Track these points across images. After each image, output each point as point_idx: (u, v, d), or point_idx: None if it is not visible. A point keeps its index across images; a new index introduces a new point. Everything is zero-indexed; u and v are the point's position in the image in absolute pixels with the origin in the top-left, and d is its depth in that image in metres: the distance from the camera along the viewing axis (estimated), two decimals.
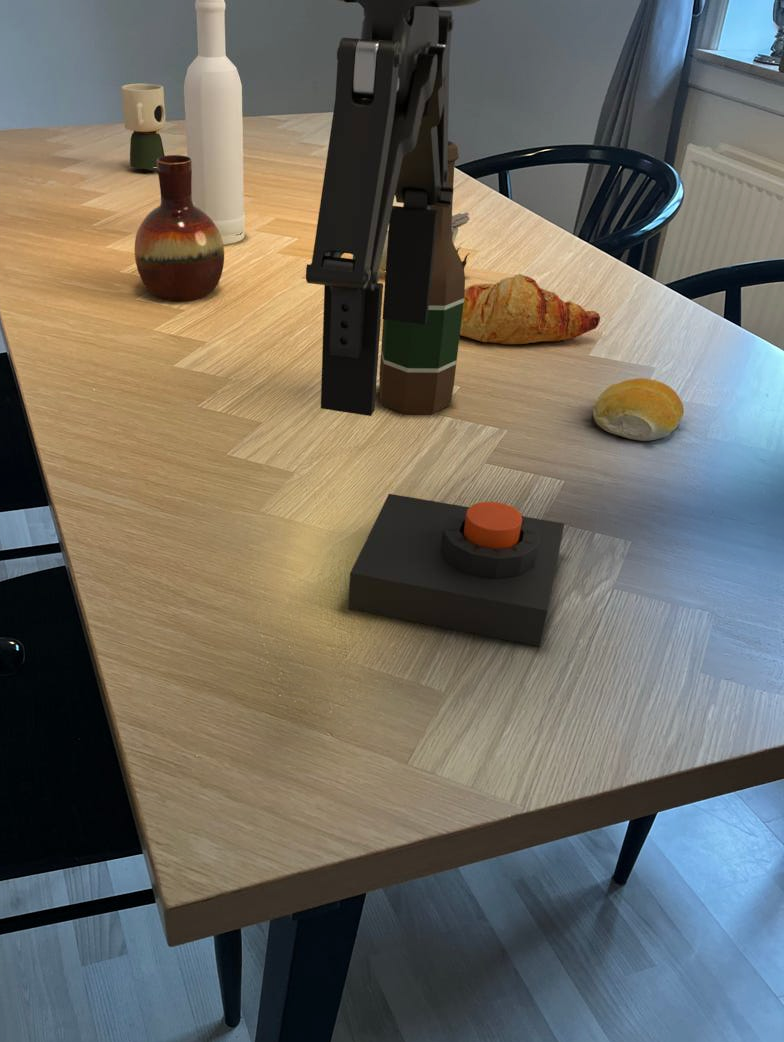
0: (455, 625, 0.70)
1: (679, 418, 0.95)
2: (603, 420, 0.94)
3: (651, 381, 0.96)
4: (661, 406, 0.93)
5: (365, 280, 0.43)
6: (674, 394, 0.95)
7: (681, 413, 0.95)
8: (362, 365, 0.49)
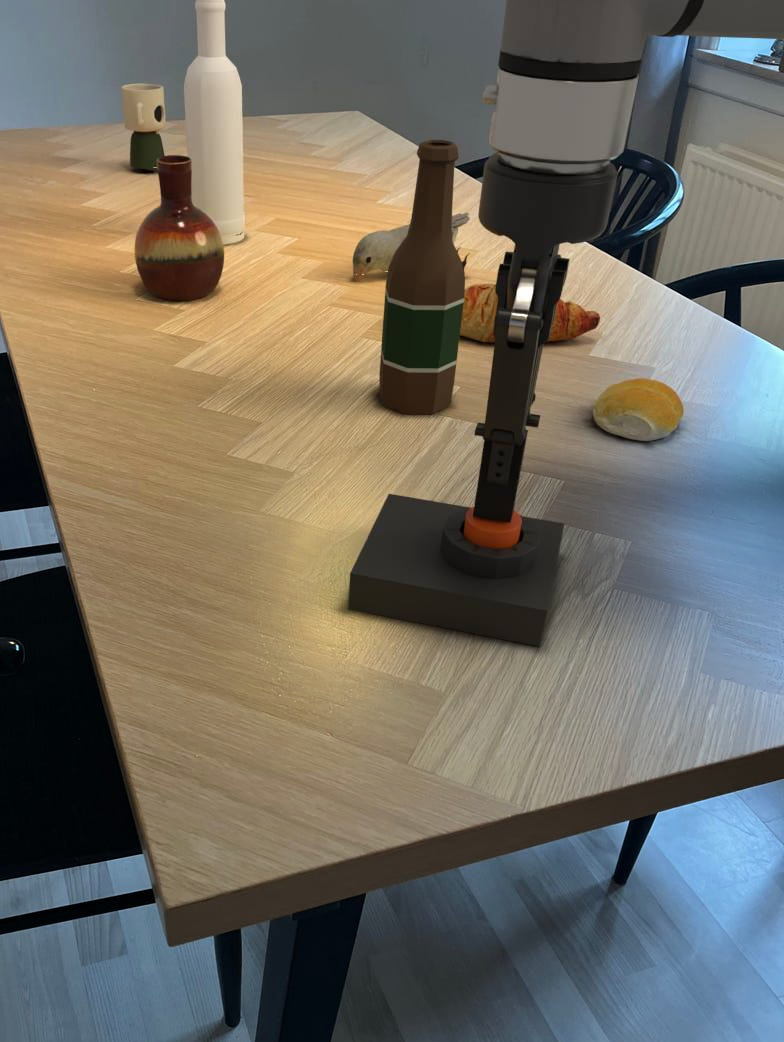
0: (455, 625, 0.70)
1: (679, 418, 0.95)
2: (603, 420, 0.94)
3: (651, 381, 0.96)
4: (661, 406, 0.93)
5: (522, 440, 0.63)
6: (674, 394, 0.95)
7: (681, 413, 0.95)
8: (507, 488, 0.68)
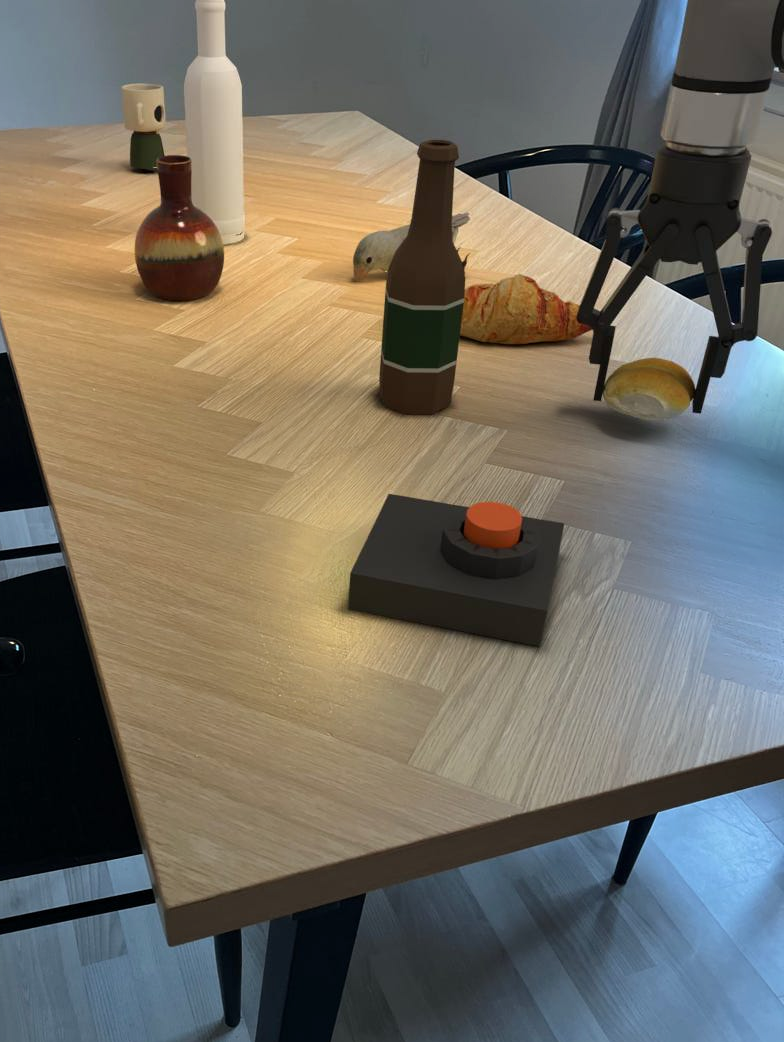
0: (455, 625, 0.70)
1: (691, 397, 0.94)
2: (614, 400, 0.93)
3: (662, 360, 0.94)
4: (673, 384, 0.91)
5: (580, 319, 0.91)
6: (685, 373, 0.93)
7: (693, 392, 0.94)
8: None
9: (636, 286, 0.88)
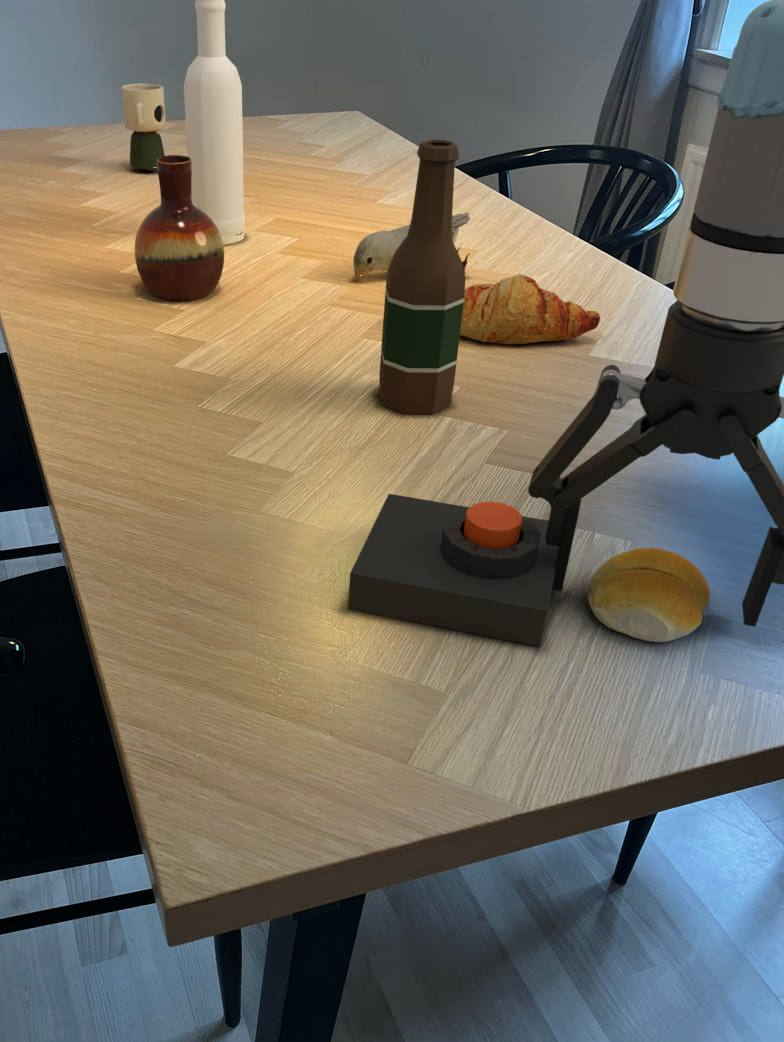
0: (455, 625, 0.70)
1: (704, 606, 0.71)
2: (602, 612, 0.70)
3: (666, 555, 0.71)
4: (681, 598, 0.68)
5: (533, 492, 0.68)
6: (697, 575, 0.71)
7: (707, 599, 0.71)
8: (558, 555, 0.71)
9: (619, 469, 0.65)
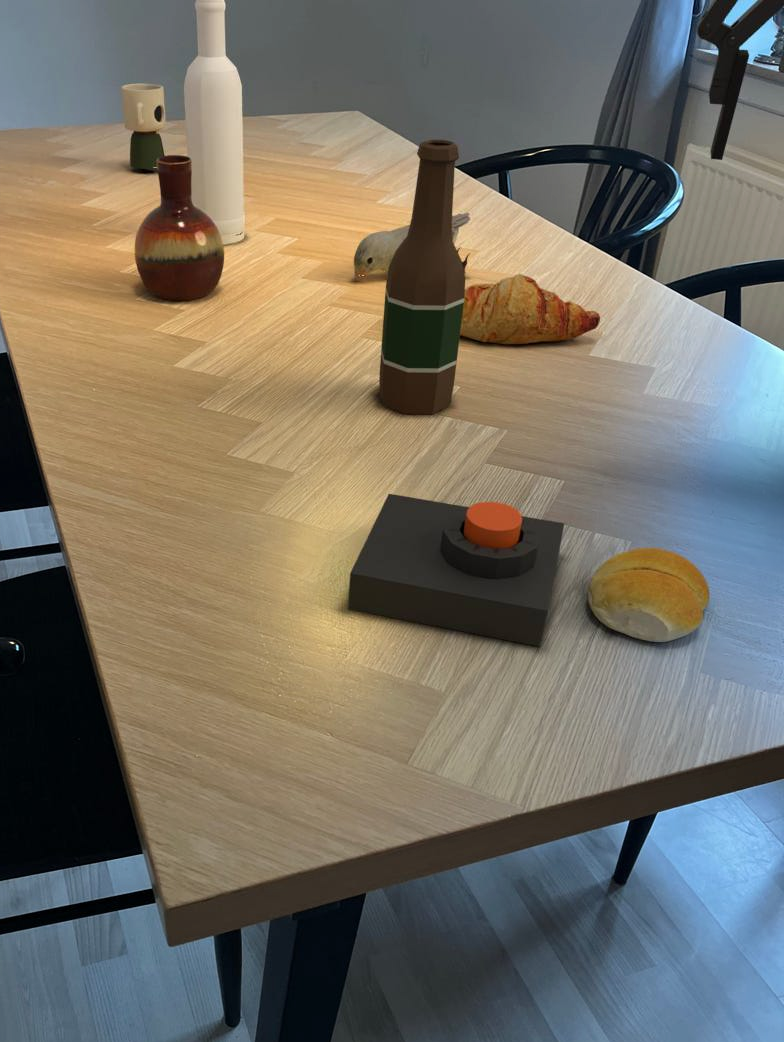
0: (455, 625, 0.70)
1: (704, 606, 0.71)
2: (602, 612, 0.70)
3: (666, 555, 0.71)
4: (681, 598, 0.68)
5: (702, 31, 0.66)
6: (697, 575, 0.71)
7: (707, 599, 0.71)
8: (721, 116, 0.69)
9: None
